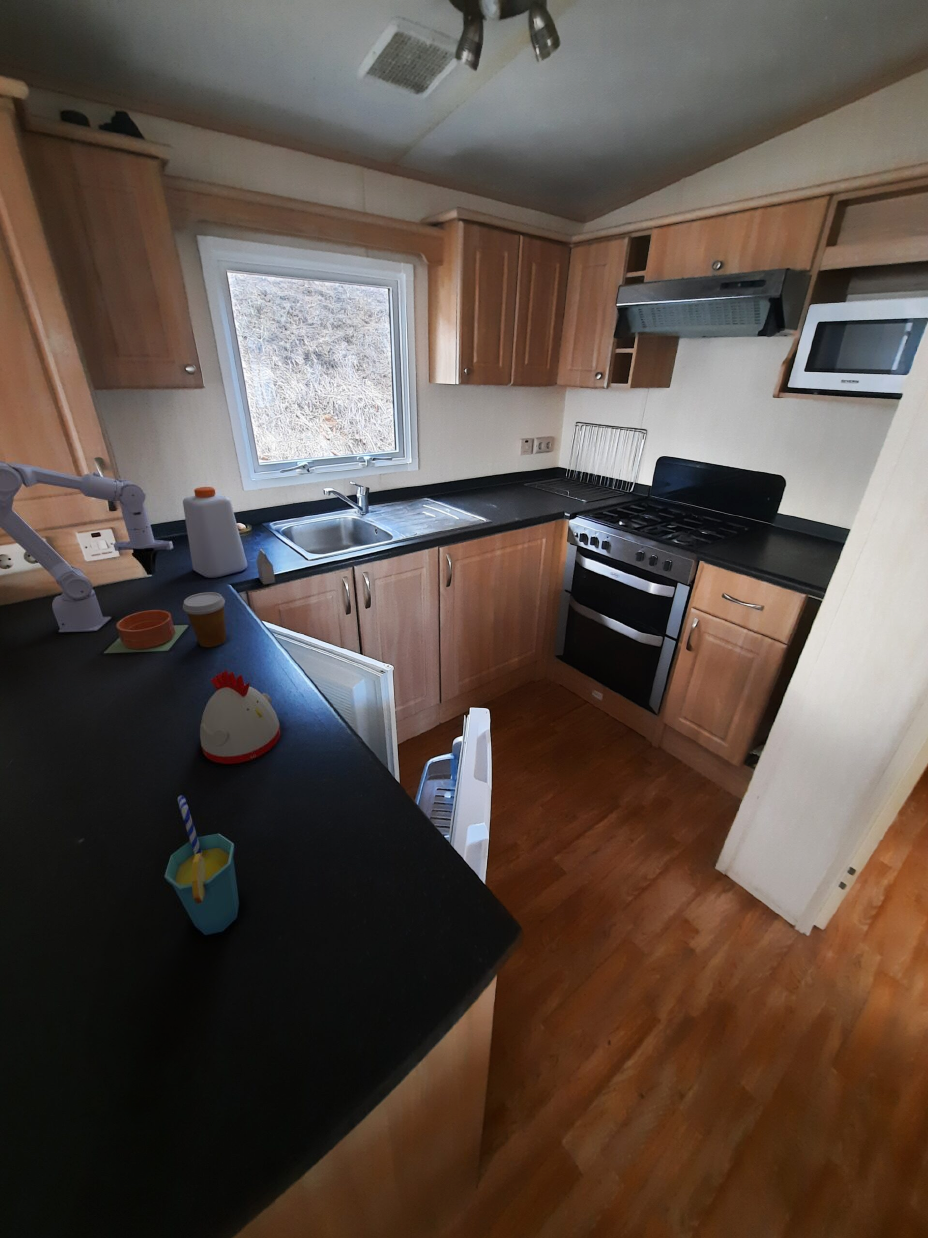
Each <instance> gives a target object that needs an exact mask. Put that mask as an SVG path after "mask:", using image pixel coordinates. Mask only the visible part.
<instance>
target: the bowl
mask: <svg viewBox="0 0 928 1238" xmlns="http://www.w3.org/2000/svg"><path fill="white" fill-rule="evenodd" d="M172 617H173V616H172V614H171V613H170V612H169V611H167V610H161V609H151V610H148V609H147V610H143V611H138V612H134V613H132V614H129V615H126V616H125V617H123V618H121V619H120V620H118V622H116V630H117V633H118V637H119V638H120V640H121V643H122V645H124V646H125V647H127V648H133V649H143V648H150V647H154V646H158V645H160V644H163V643H165V642H167V641H168V640H170V639H171V638H173V636H174V635H175V634H176V632H175V628H174V622H173V618H172Z"/></svg>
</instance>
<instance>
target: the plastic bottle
mask: <svg viewBox="0 0 928 1238" xmlns="http://www.w3.org/2000/svg"><path fill="white" fill-rule="evenodd" d="M193 492H194V495H190V496H186V497H185V498H183V499H182V507H183V513H184V520H185V527H186V533H187V540H188V546H189V552H190V558H191V565H192V570H193V571H195V572H196V573H198V574H199V575H202V576H203V577H204V578H209V579H216V578H221V577H225V576H229V575H231V574H232V575H233V574H236V573H239V572H242V571H244V570H246V569H247V567H248V562H247V558H246V555H245V550H244V547H243V543H242V538H241V535H240V530H239V527H238V523H237V519H236V515H235V512H234V508H233V504H232V501H231V499H230V498H229V497H227V496H225V495H222V494H219V493H216V488H214V487H212V486H199V487H196V488H194V490H193Z"/></svg>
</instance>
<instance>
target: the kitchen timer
mask: <svg viewBox="0 0 928 1238" xmlns="http://www.w3.org/2000/svg"><path fill="white" fill-rule="evenodd" d="M210 682H211V683H212V685H213V687H214V688H215V690H216V691H215V692H214V693H213V694H212V696H211V697H210V698H209V699H208V701H207V703H206V706H205V708H204V710H203V712H202V716H201V723H200V725H199V726H200V729H199V738H200V745H201V750H202V753H203V755H204V756H205V757H206V758H207V759H208V760H210V761H212V762H214V763H219V764H223V765H224V764H225V765H227V764H228V765H229V764H239V763H244V762H248V761H252V760H253V759H256V758H258V757H260V756H262V755H264V754H265V753H267V752H268V751H270V750H271V749H272V748H273V747H274V746H275V745H276V744H277V742H278V741H279V739H280V737H281V732H282V731H281V724H280V721H279V718H278V715H277V713H276V711H275V709H274V708H273V706H272V698H271V697H270V696H269V694H268V693H266V692H262V693H261V692H259V690H257V689H256V688H254V687H252V686H250V685H251V683H250V681H248V682H247V683H246V684H245V682H244V678H243V675H242V674H239V675H238V676H237V677H236V676H235V673H234V671H231V672H230V673H228V671H227V670H226V669H225V670H223V671H222V672H221V673H218V674H217V675H215V676H214V677H213V678H211V679H210Z"/></svg>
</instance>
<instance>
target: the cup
mask: <svg viewBox="0 0 928 1238" xmlns="http://www.w3.org/2000/svg"><path fill="white" fill-rule="evenodd" d="M177 803H178V808H179V811H180V813H181V816H182V819H183V822H184V827H185V829H186V832H187V835H188V839H189V840H188V842H186V843H185V844H184V845H182V846H181V847H179V849H177V850H176V851H174V852H173V853H172V854H171V855H170V857H169V861H168V864H167V867H166V869H165V873H164V876H163V877H164V879H165V880H166V881H167V882H168V883H169V884H170V885H171V886H172V887H173V888H174V889H173V890H174V891H175V892H176V894H177V896H178V898H179V899H180V901H181V903H182V905H183V907H184V908H185V910H186V912H187V914H188V917H189V918H190V919H191V922H192V923H193V925H194V927H195V929H197V930H199V931H200V932H201V933H202V934H203V935H205V936H208V935H212V934H218V933H221V932H222V933H223V932H224V931H225V930H226V929H227V928H228V927H229V926H230V925H231V924H232V923H234V921H235V920H236V919H237V918H238V914H239V913H238V912H239V906H240V900H239V891H238V885H237V877H236V869H235V862H234V854H235V844H234V842H232V841H231V840H229V839H228V838H226V837H225V836H223V835H222V834H220V833H214V834H208V835H204V836H198V835H197V831H196V828H195V825H194V822H193V819H192V816H191V815H192V814H191V813H190V808H189V806H188V803H187V800H186V797H185V796H184V795H179V796H178V797H177Z"/></svg>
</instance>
